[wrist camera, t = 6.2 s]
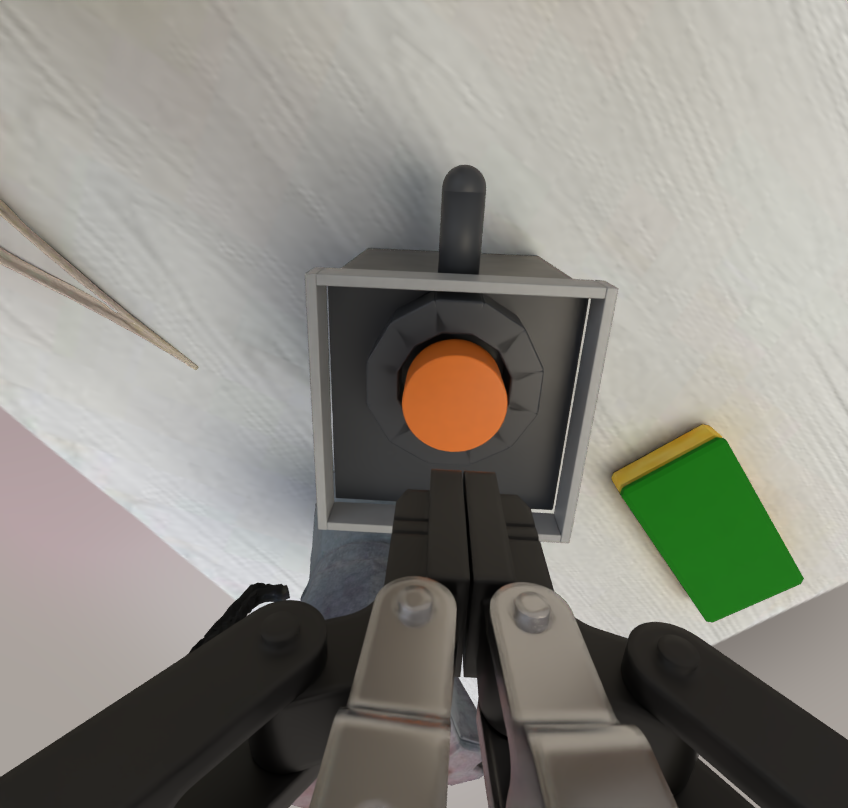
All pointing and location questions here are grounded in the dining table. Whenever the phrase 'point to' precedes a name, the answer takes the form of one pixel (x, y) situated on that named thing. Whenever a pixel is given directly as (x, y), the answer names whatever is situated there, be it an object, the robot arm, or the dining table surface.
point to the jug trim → (456, 275)
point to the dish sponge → (708, 523)
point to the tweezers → (74, 293)
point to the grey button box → (435, 321)
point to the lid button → (454, 396)
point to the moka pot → (348, 593)
